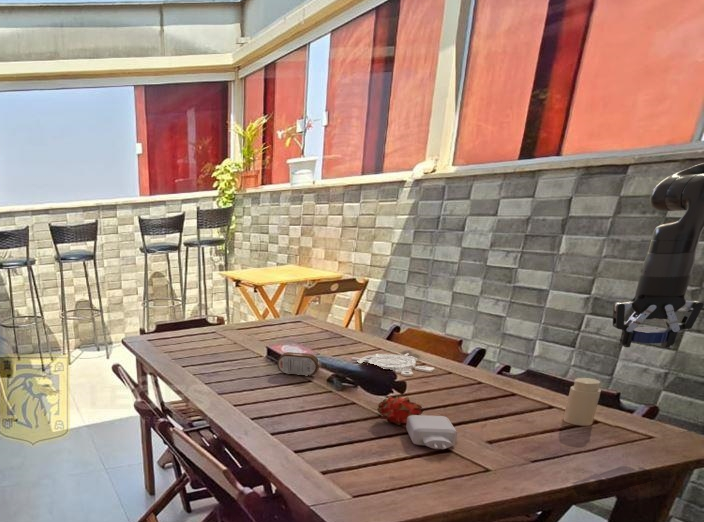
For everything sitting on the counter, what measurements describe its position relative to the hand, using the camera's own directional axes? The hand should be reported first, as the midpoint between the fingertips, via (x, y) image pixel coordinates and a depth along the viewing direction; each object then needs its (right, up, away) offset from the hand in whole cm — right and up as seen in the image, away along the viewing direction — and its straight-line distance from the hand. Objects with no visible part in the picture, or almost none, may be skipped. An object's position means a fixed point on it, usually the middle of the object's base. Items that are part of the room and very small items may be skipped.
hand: (645, 346), depth 113 cm
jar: (-3, -18, +14) cm, 23 cm away
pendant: (-18, +1, +70) cm, 72 cm away
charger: (-42, -24, +11) cm, 50 cm away
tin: (-53, -3, +71) cm, 88 cm away
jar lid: (0, +3, -1) cm, 4 cm away
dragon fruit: (-43, -19, +24) cm, 53 cm away
